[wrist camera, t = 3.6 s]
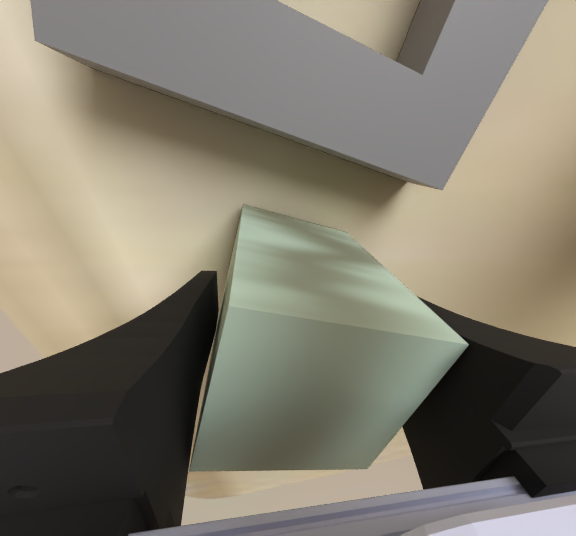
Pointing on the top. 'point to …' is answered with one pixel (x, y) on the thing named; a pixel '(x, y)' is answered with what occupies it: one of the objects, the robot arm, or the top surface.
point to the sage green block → (313, 353)
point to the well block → (309, 70)
